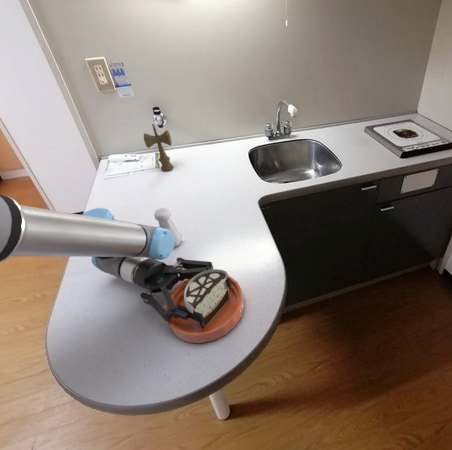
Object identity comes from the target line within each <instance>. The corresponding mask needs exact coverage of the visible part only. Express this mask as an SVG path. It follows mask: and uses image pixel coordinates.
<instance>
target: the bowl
mask: <svg viewBox="0 0 452 450" xmlns="http://www.w3.org/2000/svg"><path fill="white" fill-rule="evenodd" d="M227 278H229V279H230V282H231V287H230V288H229V287H228V289H229V296H230V300H229V301H228V302H227V303H226V305H225V306H224V307H223V308H222V309H221V310H220V311H219V313H218V314H217V315H216V316H215V317H214V318H213V319H212V321H211V322H210V323H209V324H208V325H207V326H206V327H205V328H204V327H203V326H202V325H201V324H200V323H199V322H198V321H196V320H193V319H191V318H189V319H188V320H184V319H181V318H179V317H178V318H174V317H172V318H171V320H170V321H169V322H167V324H168V326H169V328H170V330H171V331H172V333H173V334H174V335H175V336H176V337H177V338H178V339H180V340H182V341H185V342H186V343H193V344H202V343H204V344H205V343H208V342H213V341H216V340H218V339H220V338H222V337H224V336H226V335H227V334H228V333H229V332H230V331H231V330H232V329H234V328H235V327H236V326H237V324H238V322H239V321H240V320H241V318H242V315H243V313H244V308H245V302H244V301H245V300H244V296H243V291H242V288H241V286H240V284H239V283H238V281H237V280H235V279H234V278H233V277H232V276H231V275H229V276H227ZM190 280H191V279H185V280H184V281H182V282H181V283H180V284H179V285H178V286H177V287H176V288H175V289H174V290H173V291H172V292H171V293H170V296H171V298H172V301H173V303H174V305H175V307H176V308H177V306H178V305H179V304H180V305H182V306H184V307H186V306H185V303H184V292H185V288H186V286H187V284H188V283H189V281H190ZM164 309H165V310H166V311H168V310H170V308H169V306H168V304H167V302H166V303H165V308H164Z"/></svg>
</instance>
